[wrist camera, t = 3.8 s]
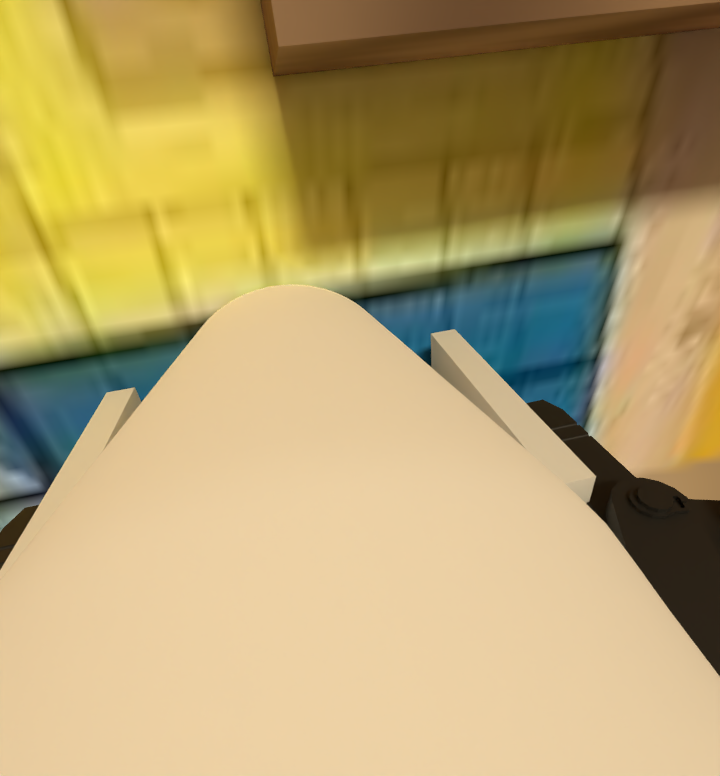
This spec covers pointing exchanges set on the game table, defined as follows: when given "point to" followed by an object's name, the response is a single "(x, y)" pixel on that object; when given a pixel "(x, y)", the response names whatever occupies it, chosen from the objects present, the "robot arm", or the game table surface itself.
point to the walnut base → (457, 27)
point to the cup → (335, 584)
